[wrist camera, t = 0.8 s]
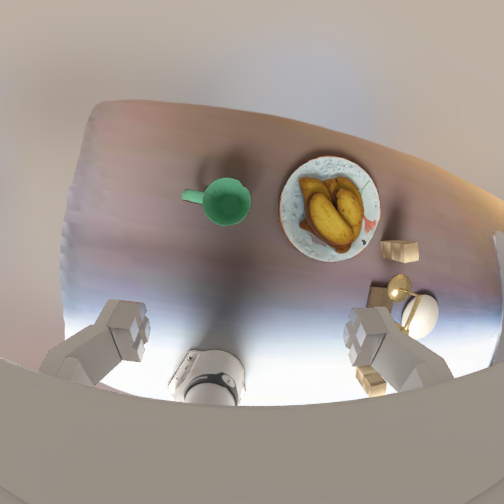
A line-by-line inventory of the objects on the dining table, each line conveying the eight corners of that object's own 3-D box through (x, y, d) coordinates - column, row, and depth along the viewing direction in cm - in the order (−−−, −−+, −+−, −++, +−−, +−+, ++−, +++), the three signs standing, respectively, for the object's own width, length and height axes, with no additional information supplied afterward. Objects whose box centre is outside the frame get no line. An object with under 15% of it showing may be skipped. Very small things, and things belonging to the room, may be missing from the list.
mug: (254, 188, 65) (255, 181, 55) (247, 229, 66) (246, 230, 56) (194, 178, 65) (184, 170, 55) (186, 219, 66) (175, 217, 56)
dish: (414, 345, 69) (417, 347, 68) (391, 320, 68) (394, 322, 67) (442, 312, 68) (444, 313, 67) (421, 284, 67) (424, 285, 66)
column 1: (368, 374, 70) (385, 395, 58) (356, 377, 70) (370, 399, 58) (369, 362, 69) (386, 382, 57) (356, 365, 69) (371, 386, 57)
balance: (378, 353, 69) (408, 384, 51) (356, 353, 69) (382, 387, 50) (396, 269, 67) (435, 282, 49) (373, 267, 67) (410, 280, 48)
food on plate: (386, 179, 65) (397, 175, 59) (361, 272, 68) (372, 277, 61) (293, 145, 65) (297, 137, 58) (265, 244, 67) (266, 246, 60)
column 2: (394, 255, 67) (418, 260, 55) (381, 257, 67) (404, 262, 55) (393, 239, 66) (417, 242, 54) (380, 241, 66) (403, 244, 54)
